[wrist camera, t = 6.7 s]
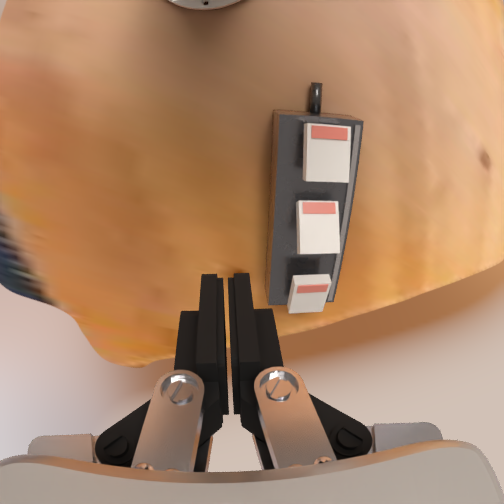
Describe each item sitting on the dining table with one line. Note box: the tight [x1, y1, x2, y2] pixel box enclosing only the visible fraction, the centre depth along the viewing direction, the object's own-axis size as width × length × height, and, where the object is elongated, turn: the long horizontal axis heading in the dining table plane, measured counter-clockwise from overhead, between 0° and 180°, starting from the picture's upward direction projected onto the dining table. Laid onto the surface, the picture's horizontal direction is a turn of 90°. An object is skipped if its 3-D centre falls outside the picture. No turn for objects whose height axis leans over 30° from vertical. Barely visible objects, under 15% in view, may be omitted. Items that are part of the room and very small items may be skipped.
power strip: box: [265, 82, 363, 305], centre depth 37 cm, size 28×9×4 cm, turn 179°
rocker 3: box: [287, 274, 332, 314], centre depth 39 cm, size 6×4×2 cm
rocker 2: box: [296, 200, 340, 254], centre depth 34 cm, size 6×4×2 cm
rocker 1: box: [303, 123, 351, 183], centre depth 30 cm, size 6×4×2 cm
